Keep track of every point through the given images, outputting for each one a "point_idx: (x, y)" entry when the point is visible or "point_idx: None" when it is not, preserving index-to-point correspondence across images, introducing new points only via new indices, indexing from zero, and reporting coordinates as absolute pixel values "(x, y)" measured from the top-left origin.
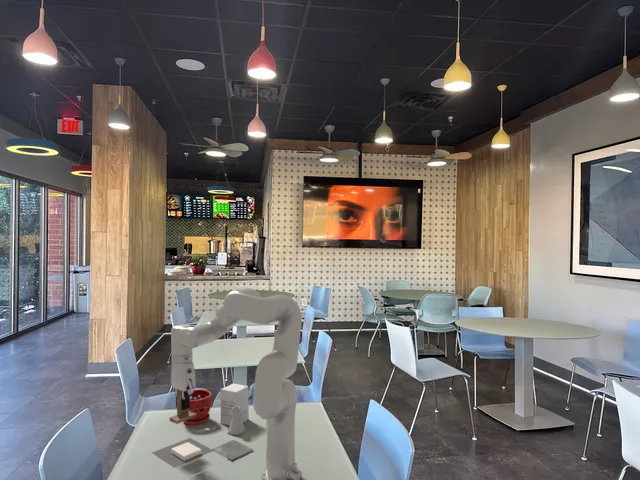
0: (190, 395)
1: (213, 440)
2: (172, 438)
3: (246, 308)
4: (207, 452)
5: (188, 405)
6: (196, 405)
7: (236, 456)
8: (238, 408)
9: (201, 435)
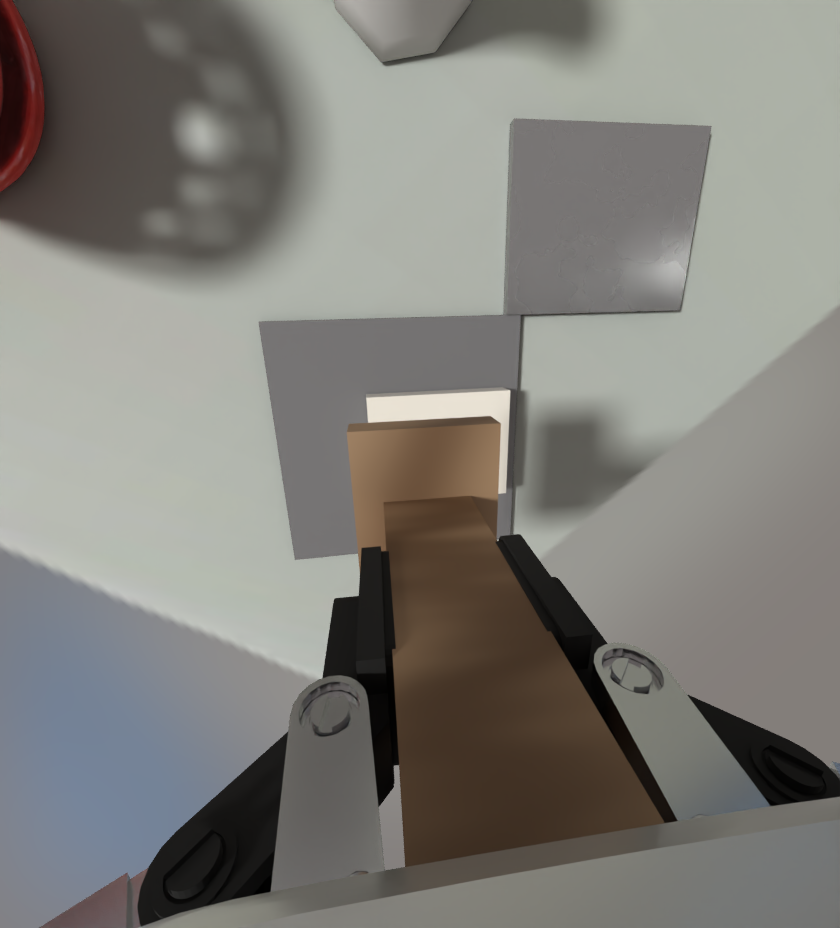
0: None
1: (394, 219)
2: (175, 400)
3: None
4: (513, 353)
5: (559, 586)
6: None
7: (680, 267)
8: None
9: (261, 231)
